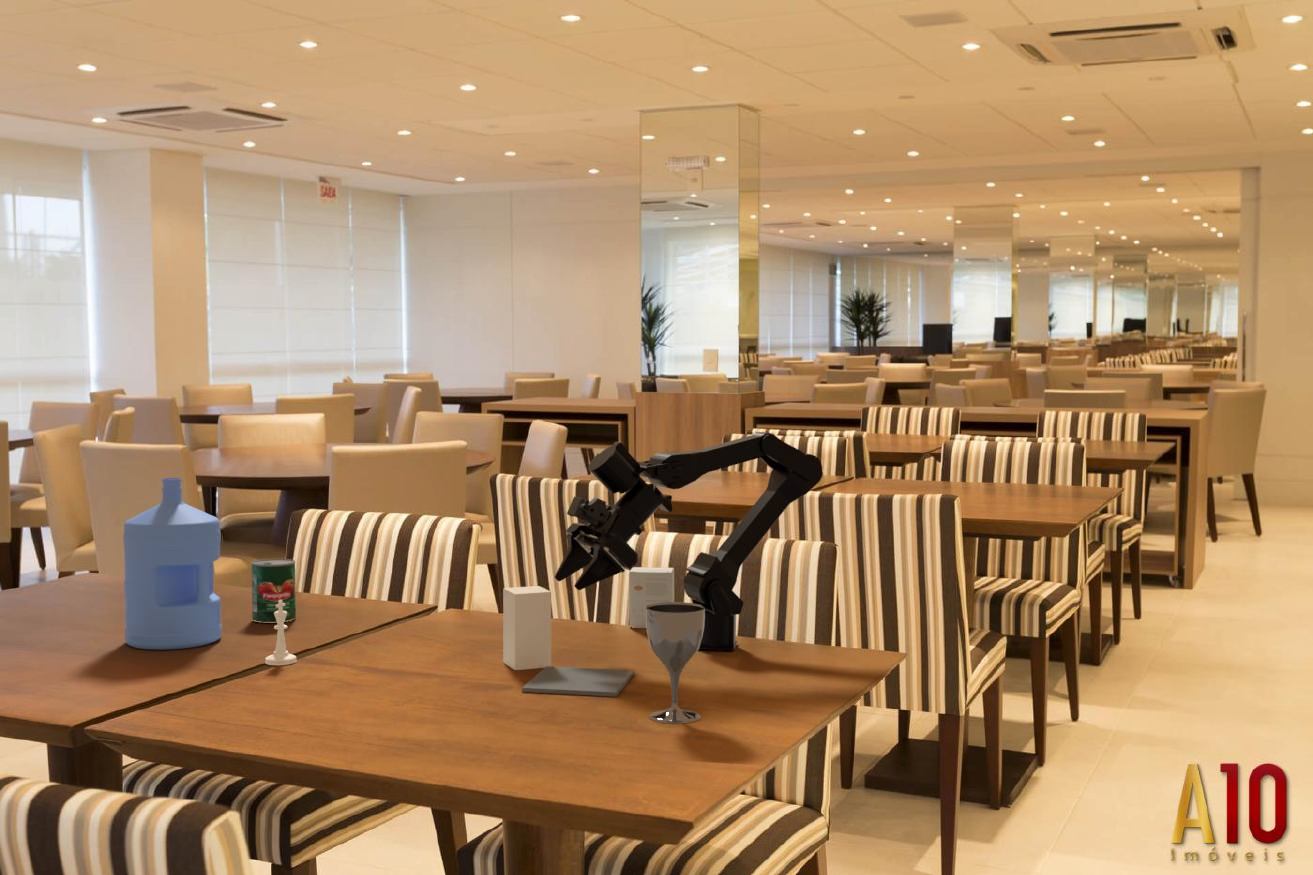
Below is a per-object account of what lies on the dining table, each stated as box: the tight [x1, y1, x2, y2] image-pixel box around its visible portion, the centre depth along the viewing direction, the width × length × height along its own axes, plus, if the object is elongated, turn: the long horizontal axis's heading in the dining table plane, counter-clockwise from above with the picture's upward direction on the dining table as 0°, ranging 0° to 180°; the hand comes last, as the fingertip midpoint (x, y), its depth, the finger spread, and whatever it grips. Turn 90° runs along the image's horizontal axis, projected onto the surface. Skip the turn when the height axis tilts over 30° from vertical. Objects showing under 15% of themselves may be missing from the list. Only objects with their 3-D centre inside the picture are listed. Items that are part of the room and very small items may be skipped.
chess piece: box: [264, 600, 298, 666], centre depth 208 cm, size 5×5×10 cm
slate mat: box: [521, 665, 635, 698], centre depth 195 cm, size 14×14×1 cm
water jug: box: [122, 477, 223, 651], centre depth 222 cm, size 16×16×28 cm
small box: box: [628, 566, 675, 629], centre depth 239 cm, size 8×6×10 cm
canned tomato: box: [250, 558, 297, 622], centre depth 242 cm, size 8×8×11 cm
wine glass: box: [646, 601, 705, 725], centre depth 176 cm, size 8×8×15 cm
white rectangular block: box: [502, 585, 552, 671], centre depth 207 cm, size 6×6×12 cm
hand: (566, 583), depth 209 cm, fingers open, 9 cm apart
